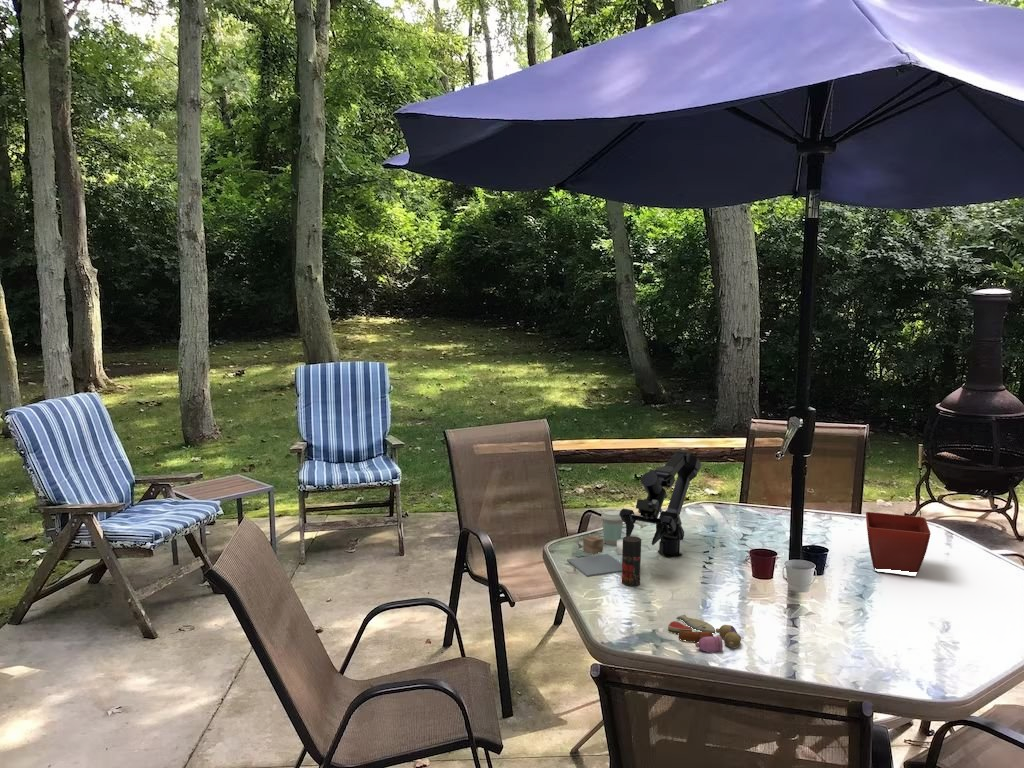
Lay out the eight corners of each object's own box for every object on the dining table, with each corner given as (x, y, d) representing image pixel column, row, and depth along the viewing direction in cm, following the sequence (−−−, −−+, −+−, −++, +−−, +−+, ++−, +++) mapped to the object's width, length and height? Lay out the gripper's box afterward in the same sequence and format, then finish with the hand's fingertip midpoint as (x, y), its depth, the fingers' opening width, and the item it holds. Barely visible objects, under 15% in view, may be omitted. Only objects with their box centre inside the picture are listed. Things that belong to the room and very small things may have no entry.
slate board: (607, 555, 290) (607, 553, 290) (629, 570, 276) (629, 569, 275) (567, 560, 285) (567, 559, 285) (587, 576, 270) (587, 575, 270)
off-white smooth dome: (630, 548, 299) (630, 537, 298) (639, 554, 292) (639, 543, 292) (613, 550, 296) (613, 540, 296) (622, 556, 290) (622, 546, 289)
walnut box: (593, 548, 298) (593, 535, 298) (602, 552, 294) (602, 538, 294) (583, 550, 295) (583, 537, 295) (592, 554, 291) (592, 541, 291)
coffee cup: (623, 539, 308) (623, 509, 306) (623, 547, 300) (624, 515, 298) (600, 538, 309) (601, 508, 307) (600, 546, 300) (601, 514, 299)
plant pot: (864, 574, 274) (867, 526, 271) (862, 556, 291) (865, 511, 289) (927, 582, 267) (931, 533, 264) (921, 563, 284) (925, 517, 282)
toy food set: (762, 647, 221) (763, 633, 220) (730, 666, 210) (730, 652, 209) (684, 618, 239) (684, 605, 239) (650, 634, 228) (650, 620, 228)
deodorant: (619, 580, 267) (621, 536, 265) (637, 579, 268) (638, 535, 266) (623, 587, 261) (625, 542, 259) (641, 586, 262) (643, 541, 260)
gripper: (622, 485, 275) (606, 524, 268) (674, 493, 265) (659, 534, 258) (631, 502, 283) (616, 541, 275) (682, 511, 273) (668, 551, 265)
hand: (639, 541), depth 268 cm, fingers open, 9 cm apart
